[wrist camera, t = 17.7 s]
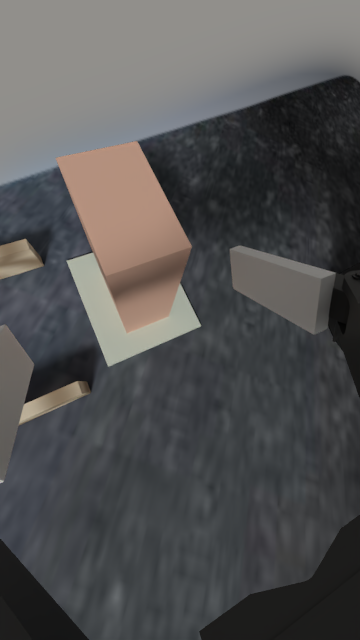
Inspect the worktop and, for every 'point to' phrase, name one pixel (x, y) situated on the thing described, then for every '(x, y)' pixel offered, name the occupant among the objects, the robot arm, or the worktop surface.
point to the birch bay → (17, 261)
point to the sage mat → (109, 322)
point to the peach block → (128, 230)
